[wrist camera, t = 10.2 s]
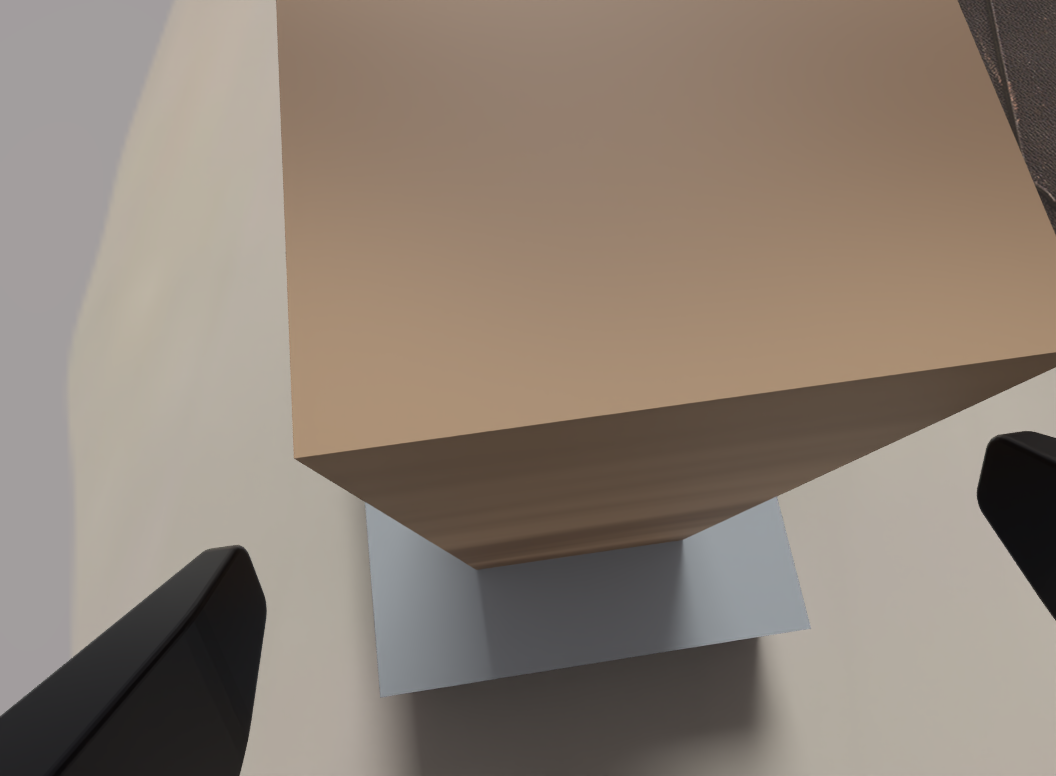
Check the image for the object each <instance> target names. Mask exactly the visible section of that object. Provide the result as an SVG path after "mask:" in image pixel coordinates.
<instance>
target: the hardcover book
mask: <svg viewBox="0 0 1056 776" xmlns="http://www.w3.org/2000/svg"><path fill="white" fill-rule="evenodd" d="M957 1H958V3H959V5H960V8H961V10H962V12H963V15H964V17H965V20H966V22H967V24H968V27H969V29H970V32H971V34H972V36H973V39H974V41H975V44H976V46H977V48H978V51H979V53H980V56H981V58H982V60H983V63H984V65H985V67H986V70H987V72H988V75H989V77H990V79H991V82H992V84H993V87H994V89H995V91H996V94H997V96H998V99H999V101H1000V103H1001V106H1002V108H1003V110H1004V113H1005V115H1006V118H1007V120H1008V122H1009V125H1010V127H1011V130H1012V132H1013V134H1014V137H1015V139H1016V142H1017V144H1018V146H1019V149H1020V151H1021V154H1022V156H1023V158H1024V161H1025V163H1026V165H1027V168H1028V170H1029V173H1030V175H1031V177H1032V180H1033V182H1034V185H1035V187H1036V189H1037V192H1038V194H1039V197H1040V199H1041V201H1042V204H1043V206H1044V209H1045V211H1046V213H1047V216H1048V218H1049V220H1050V223H1051V225H1052V228H1053V230H1054V232H1055V235H1056V0H957Z"/></svg>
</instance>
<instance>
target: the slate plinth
mask: <svg viewBox="0 0 1056 776" xmlns="http://www.w3.org/2000/svg"><path fill="white" fill-rule="evenodd" d="M365 508H366V521H367V534H368V546H369V559H370V572H371V585H372V597H373V610H374V623H375V636H376V648H377V661H378V674H379V687H380V697H387V696H393V695H399V694H405V693H412V692H418V691H424V690H430V689H437V688H443V687H449V686H455V685H462V684H468V683H474V682H480V681H486V680H493V679H499V678H505V677H511V676H518V675H524V674H530V673H536V672H543V671H549V670H555V669H561V668H568V667H574V666H580V665H586V664H593V663H599V662H605V661H611V660H618V659H624V658H630V657H636V656H642V655H649V654H655V653H661V652H667V651H674V650H680V649H686V648H692V647H699V646H705V645H711V644H717V643H724V642H730V641H736V640H742V639H749V638H755V637H761V636H767V635H774V634H780V633H786V632H792V631H798V630H805V629H811V627H810V623H809V619H808V615H807V611H806V607H805V604H804V600H803V596H802V592H801V588H800V584H799V580H798V577H797V573H796V569H795V565H794V561H793V557H792V553H791V549H790V546H789V542H788V538H787V534H786V530H785V526H784V522H783V518H782V515H781V511H780V507H779V503H778V499H777V496H776V497H774V498H772V499H770V500H768V501H766V502H764V503H761V504H759V505H757V506H755V507H753V508H751V509H748V510H746V511H744V512H742V513H740V514H738V515H735V516H733V517H731V518H729V519H727V520H725V521H723V522H720V523H718V524H716V525H714V526H712V527H710V528H707V529H705V530H703V531H701V532H699V533H697V534H694V535H692V536H690V537H688V538H686V539H684V540H679V541H672V542H665V543H658V544H651V545H644V546H638V547H631V548H624V549H617V550H610V551H603V552H596V553H589V554H582V555H576V556H569V557H562V558H555V559H548V560H541V561H534V562H527V563H521V564H514V565H507V566H500V567H493V568H486V569H479V570H476V569H474V568H472V567H471V566H469V565H468V564H466V563H464V562H463V561H461V560H459V559H458V558H456V557H454V556H453V555H451V554H450V553H448V552H446V551H445V550H443V549H441V548H440V547H438V546H436V545H435V544H433V543H432V542H430V541H428V540H427V539H425V538H423V537H422V536H420V535H418V534H417V533H415V532H414V531H412V530H410V529H409V528H407V527H405V526H404V525H402V524H401V523H399V522H397V521H396V520H394V519H392V518H391V517H389V516H387V515H386V514H384V513H383V512H381V511H379V510H378V509H376V508H374V507H373V506H371V505H369V504H368V503H366V502H365Z"/></svg>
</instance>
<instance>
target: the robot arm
mask: <svg viewBox="0 0 1056 776" xmlns="http://www.w3.org/2000/svg"><path fill="white" fill-rule="evenodd" d="M977 500H978V504H979V507H980V509H981V511H982V513H983V515H984V516H985V518H986V519H987V521H988V522H989V524H990V525H991V526H992V528H993V529H994V531H995V532H996V534H997V535H998V537H999V538H1000V540H1001V541H1002V543H1003V544H1004V546H1005V547H1006V549H1007V550H1008V552H1009V553H1010V555H1011V556H1012V558H1013V559H1014V561H1015V562H1016V564H1017V565H1018V567H1019V568H1020V570H1021V571H1022V573H1023V574H1024V576H1025V577H1026V579H1027V580H1028V581H1029V583H1030V584H1031V586H1032V587H1033V589H1034V590H1035V592H1036V593H1037V595H1038V596H1039V598H1040V599H1041V601H1042V602H1043V604H1044V605H1045V606H1046V608H1047V609H1048V611H1049V612H1050V613H1051V615H1052V616H1053V618H1054V619H1055V620H1056V438H1054V437H1050V436H1047V435H1043V434H1040V433H1036V432H1032V431H1022V432H1015V433H1008V434H1002V435H997V436H995V437H993V438H992V439H991V440H990V442H989V443H988V445H987V448H986V452H985V456H984V461H983V465H982V470H981V474H980V479H979V483H978V487H977ZM266 613H267V608H266V600H265V596H264V593H263V591H262V588H261V585H260V583H259V580H258V577H257V575H256V572H255V569H254V567H253V564H252V561H251V559H250V556H249V554H248V552H247V551H246V549H245V548H244V547H242V546H240V545H233V546H226V547H219V548H212V549H208V550H205V551H204V552H202V553H201V554H200V555H199V556H197V557H196V558H195V559H194V560H192V561H191V562H190V563H189V564H187V565H186V566H185V567H184V568H182V569H181V570H180V571H179V572H178V573H176V574H175V575H174V576H173V577H171V578H170V579H169V580H168V581H166V582H165V583H164V584H163V585H162V586H160V587H159V588H158V589H157V590H155V591H154V592H153V593H152V594H150V595H149V596H148V597H147V598H146V599H144V600H143V601H142V602H141V603H139V604H138V605H137V606H136V607H134V608H133V609H132V610H131V611H129V612H128V613H127V614H126V615H125V616H123V617H122V618H121V619H120V620H118V621H117V622H116V623H115V624H113V625H112V626H111V627H110V628H108V629H107V630H106V631H105V632H104V633H102V634H101V635H100V636H99V637H97V638H96V639H95V640H94V641H92V642H91V643H90V644H89V645H88V646H86V647H85V648H84V649H83V650H81V651H80V652H79V653H78V654H76V655H75V656H74V657H73V658H71V659H70V660H69V661H68V662H67V663H65V664H64V665H63V666H62V667H60V668H59V669H58V670H57V671H55V672H54V673H53V674H52V675H50V676H49V677H48V678H47V679H46V680H45V681H43V682H42V683H41V684H39V685H38V686H37V687H36V688H34V689H33V690H32V691H31V692H29V693H28V694H27V695H26V696H25V697H23V698H22V699H21V700H20V701H18V702H17V703H16V704H15V705H13V706H12V707H11V708H10V709H9V710H7V711H6V712H5V713H4V714H2V715H1V716H0V776H239V775H240V771H241V768H242V764H243V760H244V755H245V751H246V747H247V742H248V737H249V731H250V726H251V720H252V713H253V706H254V699H255V692H256V685H257V678H258V671H259V664H260V658H261V651H262V644H263V637H264V630H265V623H266Z"/></svg>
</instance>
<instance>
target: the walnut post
mask: <svg viewBox="0 0 1056 776" xmlns="http://www.w3.org/2000/svg"><path fill="white" fill-rule="evenodd" d="M276 9H277V34H278V60H279V86H280V112H281V137H282V163H283V189H284V215H285V240H286V266H287V292H288V318H289V343H290V369H291V395H292V420H293V446H294V459H296V460H297V461H299V462H301V463H302V464H304V465H306V466H307V467H309V468H311V469H312V470H314V471H315V472H317V473H319V474H320V475H322V476H324V477H325V478H327V479H329V480H330V481H332V482H333V483H335V484H337V485H338V486H340V487H342V488H343V489H345V490H347V491H348V492H350V493H351V494H353V495H355V496H356V497H358V498H360V499H361V500H363V501H365V502H366V503H368V504H369V505H371V506H373V507H374V508H376V509H378V510H379V511H381V512H383V513H384V514H386V515H387V516H389V517H391V518H392V519H394V520H396V521H397V522H399V523H401V524H402V525H404V526H405V527H407V528H409V529H410V530H412V531H414V532H415V533H417V534H418V535H420V536H422V537H423V538H425V539H427V540H428V541H430V542H432V543H433V544H435V545H436V546H438V547H440V548H441V549H443V550H445V551H446V552H448V553H450V554H451V555H453V556H454V557H456V558H458V559H459V560H461V561H463V562H464V563H466V564H468V565H469V566H471V567H472V568H474V569H476V570H479V569H486V568H493V567H500V566H507V565H514V564H521V563H527V562H534V561H541V560H548V559H555V558H562V557H569V556H576V555H582V554H589V553H596V552H603V551H610V550H617V549H624V548H631V547H638V546H644V545H651V544H658V543H665V542H672V541H679V540H684V539H686V538H688V537H690V536H692V535H694V534H697V533H699V532H701V531H703V530H705V529H707V528H710V527H712V526H714V525H716V524H718V523H720V522H723V521H725V520H727V519H729V518H731V517H733V516H735V515H738V514H740V513H742V512H744V511H746V510H748V509H751V508H753V507H755V506H757V505H759V504H761V503H764V502H766V501H768V500H770V499H772V498H774V497H776V496H779V495H781V494H783V493H785V492H787V491H789V490H792V489H794V488H796V487H798V486H800V485H802V484H805V483H807V482H809V481H811V480H813V479H815V478H817V477H820V476H822V475H824V474H826V473H828V472H830V471H833V470H835V469H837V468H839V467H841V466H843V465H846V464H848V463H850V462H852V461H854V460H856V459H859V458H861V457H863V456H865V455H867V454H869V453H871V452H874V451H876V450H878V449H880V448H882V447H884V446H887V445H889V444H891V443H893V442H895V441H897V440H900V439H902V438H904V437H906V436H908V435H910V434H912V433H915V432H917V431H919V430H921V429H923V428H925V427H928V426H930V425H932V424H934V423H936V422H938V421H941V420H943V419H945V418H947V417H949V416H951V415H953V414H956V413H958V412H960V411H962V410H964V409H966V408H969V407H971V406H973V405H975V404H977V403H979V402H982V401H984V400H986V399H988V398H990V397H992V396H994V395H997V394H999V393H1001V392H1003V391H1005V390H1007V389H1010V388H1012V387H1014V386H1016V385H1018V384H1020V383H1023V382H1025V381H1027V380H1029V379H1031V378H1033V377H1035V376H1038V375H1040V374H1042V373H1044V372H1046V371H1048V370H1051V369H1053V368H1055V367H1056V235H1055V232H1054V230H1053V228H1052V225H1051V223H1050V220H1049V218H1048V216H1047V213H1046V211H1045V209H1044V206H1043V204H1042V201H1041V199H1040V197H1039V194H1038V192H1037V189H1036V187H1035V185H1034V182H1033V180H1032V177H1031V175H1030V173H1029V170H1028V168H1027V165H1026V163H1025V161H1024V158H1023V156H1022V154H1021V151H1020V149H1019V146H1018V144H1017V142H1016V139H1015V137H1014V134H1013V132H1012V130H1011V127H1010V125H1009V122H1008V120H1007V118H1006V115H1005V113H1004V110H1003V108H1002V106H1001V103H1000V101H999V99H998V96H997V94H996V91H995V89H994V87H993V84H992V82H991V79H990V77H989V75H988V72H987V70H986V67H985V65H984V63H983V60H982V58H981V56H980V53H979V51H978V48H977V46H976V44H975V41H974V39H973V36H972V34H971V32H970V29H969V27H968V24H967V22H966V20H965V17H964V15H963V12H962V10H961V8H960V5H959V3H958V1H957V0H276Z"/></svg>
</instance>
